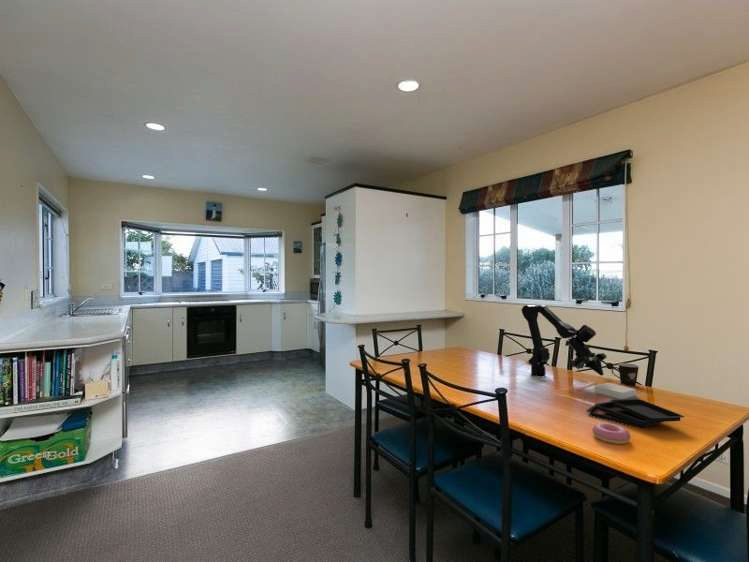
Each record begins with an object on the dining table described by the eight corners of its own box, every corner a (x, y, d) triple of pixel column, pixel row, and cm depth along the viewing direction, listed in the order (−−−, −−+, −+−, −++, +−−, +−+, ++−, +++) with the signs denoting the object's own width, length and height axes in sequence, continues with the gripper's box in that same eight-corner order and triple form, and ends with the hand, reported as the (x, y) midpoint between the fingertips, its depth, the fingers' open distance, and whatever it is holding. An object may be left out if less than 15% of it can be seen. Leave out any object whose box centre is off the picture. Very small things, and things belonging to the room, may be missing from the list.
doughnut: (590, 440, 125) (590, 428, 125) (593, 429, 134) (594, 418, 134) (630, 449, 119) (630, 436, 119) (630, 437, 128) (630, 425, 128)
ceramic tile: (594, 385, 175) (622, 392, 164) (608, 382, 180) (635, 389, 170) (594, 392, 175) (622, 399, 164) (608, 388, 180) (635, 396, 170)
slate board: (582, 392, 177) (582, 390, 177) (602, 388, 185) (602, 386, 185) (623, 404, 162) (623, 401, 162) (643, 398, 169) (643, 396, 169)
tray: (584, 419, 145) (584, 405, 145) (593, 403, 163) (593, 391, 163) (685, 440, 126) (685, 424, 126) (682, 419, 145) (682, 406, 145)
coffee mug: (637, 384, 193) (638, 364, 193) (639, 388, 185) (639, 367, 185) (611, 380, 199) (611, 361, 199) (611, 384, 192) (611, 364, 191)
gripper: (580, 355, 196) (601, 381, 187) (557, 359, 187) (578, 386, 178) (595, 342, 189) (618, 369, 180) (572, 345, 180) (595, 373, 171)
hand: (602, 375), depth 177 cm, fingers closed
